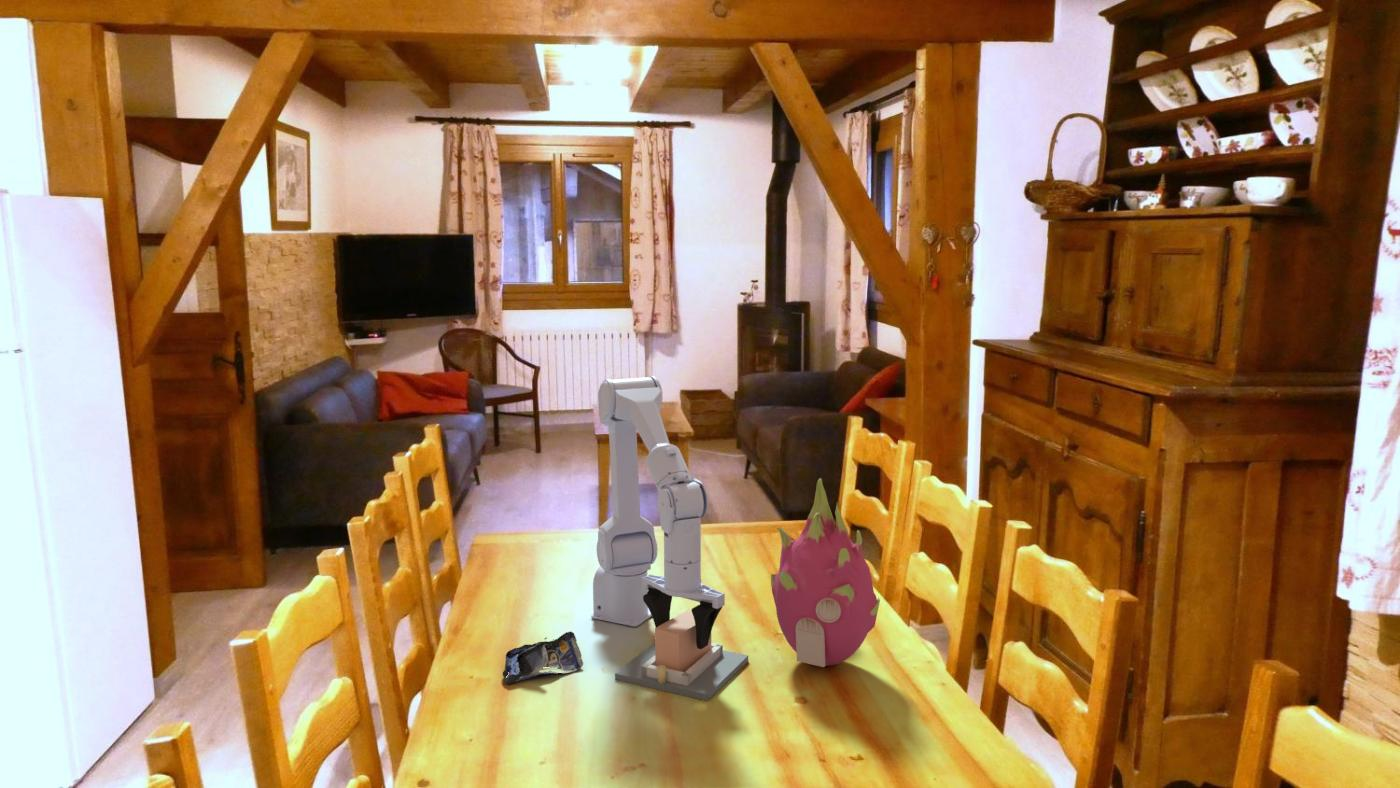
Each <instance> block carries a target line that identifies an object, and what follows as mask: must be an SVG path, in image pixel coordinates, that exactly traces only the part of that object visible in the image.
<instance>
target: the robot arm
mask: <svg viewBox="0 0 1400 788" xmlns="http://www.w3.org/2000/svg"><path fill="white" fill-rule="evenodd" d="M597 400H598V401H597V402H598V403H597V405H598V417H599V423H600V424H601V425H605V426H607V428H608V439H609V440H608V441H609V457H610V458H609V459H610V461H609V462H610V479H611V481H610V482H611V501H612V502H611V503H612V516H610V517H609V518H608V519H607V520H606V521H605V522H604V523H603V524H601V525H600V526H599V527H598V531H597V542H596V557H597V561H598V564H599V567H598V568H597V570H596V571H595V573H594V577H593V582H592V600H593V605H592V606H593V607H592V608H593V614H591V616H590V617H591V618H592V619H595V620H601V621H604V622H610V623H615V624H619V625H624V626H630V627H638V626H639V625H641V624H643V623H644V622H645V621H646V620H648V619H650V617H652V620H653V623H654V626H655V627H654V628H656V627H658V626H660V625H662V624H663V623H665V622H667V621H669V620H671V606H672V600H673V597H675V598H681V599H687V600H690V601H694V602H698V603H699V604H697V605H696V606H693V608H691V611H692V614H693V617H694V620H695V626H696V644H697V648H698V649H703V648H704V647H706V646H707V645H708V642H709V638H710V634H711V635H712V630H713V627H714V624H715V622H716V620H717V617H718V615H719V614H720V612H721V611H722V609H723V607H724V606H725V604H726V603H725V599H726V598H725V595H726V594H725V592H722V591H719V590H716V589H715V588H712V587H710V586H708V585H706V584H704V583H702V577H701V576H702V569H701V568H702V566H701V565H702V561H701V559H702V554H701V553H702V548H701V546H702V543H701V542H702V530H701V529H702V526H701V525H702V521H701V518H704V517H705V516H706V515H707V512H708V508H709V507H708V505H709V504H708V503H709V501H708V494H707V491H706V488H705V485H704V483H703V482H702V481H701V480H699V479H697V476H695V475H692V474H691V473H690V470H689V468H688V466H687V463H686V462H685V461H686V460H685V459H684V457H683V455H682V452H681V450H680V448H679V447H678V446H677V445H675V444H672V443H671V444H670V440H669V437H668V434H667V431H666V428H665V425H664V421H663V418H662V416H661V411H662V404H663V389H662V385H661V383H660V380H658V378H657V377H656V376H653V375H650V376H648V377H647V376H644V377H632V378H631V377H630V378H620V379H619V378H616V379H609V378H605V379H604V380H603V381H602V383H600V385H599V388H598V392H597ZM637 433H638V435H639V436H640V439H641V440H642V442H643V443H644V444H643V445H645V448H646V449H647V451H648V454H647V455H646V459H645V463H646V465H647V468H648V470H649V473H650V475H651V478H652V479H653V480H652V481H653V483H654V485H655V487H656V491H657V492H658V494H657V499H656V502H657V510H658V514H659V517H660V521H659V523H660V529H661V531H663V576H661V575H654V574H648V571H649V570H650V571H651V568H652V567H651V566H652V565H653V564H654V563H655V561H656V559H657V558H658V553H659V552H658V543H657V539H656V534H655V528H654V525H653V524H652V522H651V521H649V520H648V519H646V518H645V517H643V516H642V515H641V503H640V501H641V500H640V499H641V498H640V481H639V478H640V477H639V457H638V456H639V455H638V437H637Z"/></svg>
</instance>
